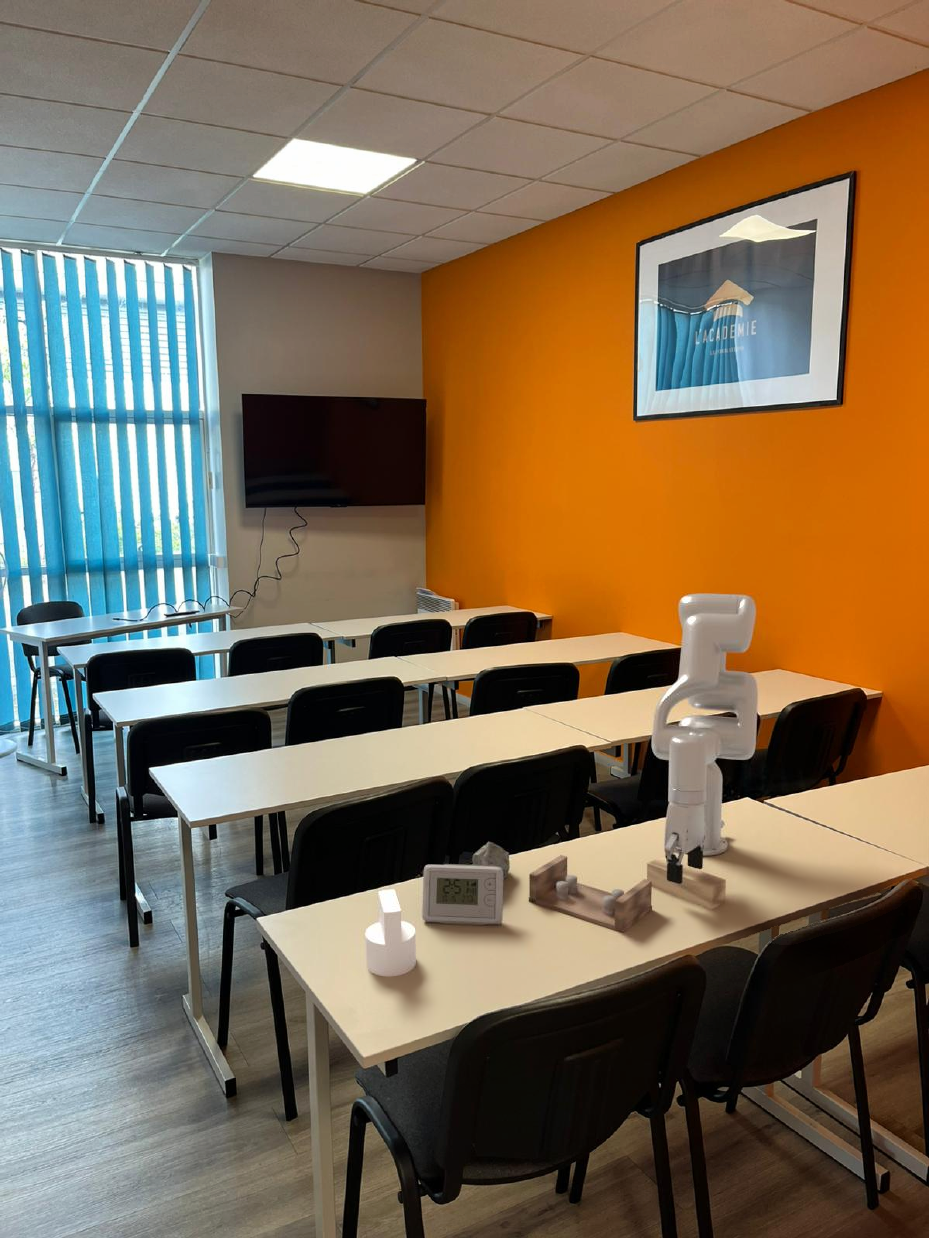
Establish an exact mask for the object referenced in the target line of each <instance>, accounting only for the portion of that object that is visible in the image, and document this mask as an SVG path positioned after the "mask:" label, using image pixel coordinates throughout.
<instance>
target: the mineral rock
mask: <svg viewBox="0 0 929 1238" xmlns="http://www.w3.org/2000/svg"><path fill="white" fill-rule="evenodd" d="M472 865H483V866H490V867H500V868H502V870H503V879H504V878H506V877H507V876H508V874H509V871H510V868H511V866H510V853H509V852H508V851H506V850H505V849H504V848H503V847H501V846H499V845H497V844H496V843H494V842H491V841H488V842H487V843H486V844H484V845H483V846H481V847H480V848H479V849H478V850H476V851H475V853H474V854H473V855H472Z"/></svg>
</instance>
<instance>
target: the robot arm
mask: <svg viewBox="0 0 929 1238" xmlns="http://www.w3.org/2000/svg"><path fill="white" fill-rule="evenodd" d="M755 603H756V602H755V601H754V599H753V598H752V597H751V596H749V595H745V594H727V593H724V594H723V593H722V594H721V593H691V594H688V595H687V594H686V595H684V596H683V597H681V598H680V600H679V603H678V615H679V621H680V625H681V629H682V636H681V637H682V638H681V646H680V647H681V648H680V649H681V650H680V659H679V670H678V678H677V680H676V681H675V682H674V683H673V684H672V685H671V686H670V687H669V688H667V689H666V691H665V692H664V693H663V694H662V696H661V698H660V699H659V701H658V702H657V705H656V708H655V710H654V715H653V722H652V723H653V724H652V731H651V732H652V734H651V749H652V752H653V754H654V756H656V758H658V759H659V760H665V761H668V790H667V791H668V795H667V796H668V797H667V799H668V800H667V801H668V806H667V809H666V817H665V823H664V824H665V827H664V836H663V837H664V839H663V840H664V842H663V844H664V845H663V846H664V853H665V857H664V858H666V862H667V880H668V881H670V882H674V883H678V884H681V883H682V877H683V865H684V864H683V863H682V861H683V858H684V856H685V854H687V866H688V867H691V868H694V869H697V870H702V869H703V866H704V865H703V863H704V856H705V857H707V856H716V855H717V856H718V855H720V854H722V853H724V852H726V851H727V850H728V841H727V840H726V838H724V837H723V836H722V829H723V828H724V827H725V822H724V820H723V819H722V810H723V809H722V807H723V805H722V803H723V801H722V800H723V773H722V771H721V769H720V767H719V766H718V764H717V763H716V760H717V759H726V760H740V761H741V760H742V761H745V760H749V759H751V758H752V757H753V756H754V753H755V750H756V745H757V724H758V723H757V721H758V700H759V699H758V698H759V697H758V693H759V690H758V689H759V688H758V683H757V679H756V678H755V676H753V675H752V674H751V673H749V672H746V671H738V670H737V671H735V670H727V669H726V666H727V665H726V664H727V663H726V662H727V653H737V654H740V653H745V652H746V651H748V649H749V648H750V645H751V642H752V639H753V633H754V626H755V623H756V615H757V609H756V604H755ZM686 699H687V702H688V705H690V706H691V707H692V708H693V709H694V708H695V709H698V710H704V711H716V712H717V711H718V712H727V713H728V712H729V713H734V714H735V715H736V717H728V716H718V715H705V714H691V715H687V716H685V717H683V718H682V719H681V720H680V721H679V723H678V725H675V724H668V718H669V715H670V713H671V711H672V709H674V707H675V706H677V705H678V704H680V703H681V702H683V701H684V700H686ZM676 854H678V857H677V855H676ZM682 864H683V865H682Z"/></svg>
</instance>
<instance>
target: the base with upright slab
mask: <svg viewBox="0 0 929 1238" xmlns="http://www.w3.org/2000/svg"><path fill="white" fill-rule="evenodd" d="M395 890H396V889H383V890H379V891H378V893H377V894H378V918H379V919H378V922H375V923H374V924H371V925H370V926H369V927H367V928H366V931H365V935H364V936H365V938H364V939H365V958H366V959H365V961H366V965H365V966H366V968H367V970H368V971H369V972H370V973H372V974H373V975H375V976H376V975H377V976H381V977H398V976H401V975H404V974H407V973H408V972H410V971H412V970H413V969H414V968H415V966H416V964H417V955H416V954H417V952H416V951H417V949H416V946H417V945H416V929H415V926H414V925H413V924H411V923H409V922H407V921H403V920H402V909H401V905H400V903H399V900H398V897H397V894H396V891H395Z"/></svg>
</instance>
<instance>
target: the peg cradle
mask: <svg viewBox="0 0 929 1238" xmlns="http://www.w3.org/2000/svg"><path fill="white" fill-rule="evenodd" d="M528 879H529V881H528V882H529V890H528V891H529V897H528V902H530V903H534V904H536V905H538V906H541V907H545V908H548V909H551V910H553V911H557V912H561V913H563V914H565V915H569V916H572V917H575V918H578V919H581V920H584V921H587V922H590V923H593V924H596V925H599V926H600V927H601V926H602V927H605V928H608V929H611V930H614V931H617V932H620V933H625V932H626V931H627V930H629V929H630V928H631V927H632V926H633V925H635V924H636V923H637V922H638V921H640V920H641V919H642V918H643V917H645V916H646V915H647V914H649V913H650V912H651V911H652V910H653V905H652V894H653V893H652V887H653V886H652V881H650V880H647V878H643V879H642V880H641V881H640V882H639V883H637V884H636V885H634V886H633V887H631V888H630V889H629V890H628V891H626V892H625V891H624V890H622V889H619V888H614V889H613V890H611V892H608V891H605V890H603V889H599V888H595V887H592V886H590V885H586V884H582V883H579V882H578V876H577V875H572V874H569V875H568V856H567V855H563V854H562V855H561V854H560V855H559V856H556V857H555V858H554V859H551V860H550V861H548V862H547V863H546V864H544V865H542V866H541V867H539V868H537V869H536V870H533V871H532V872H530V873H529V877H528Z"/></svg>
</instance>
